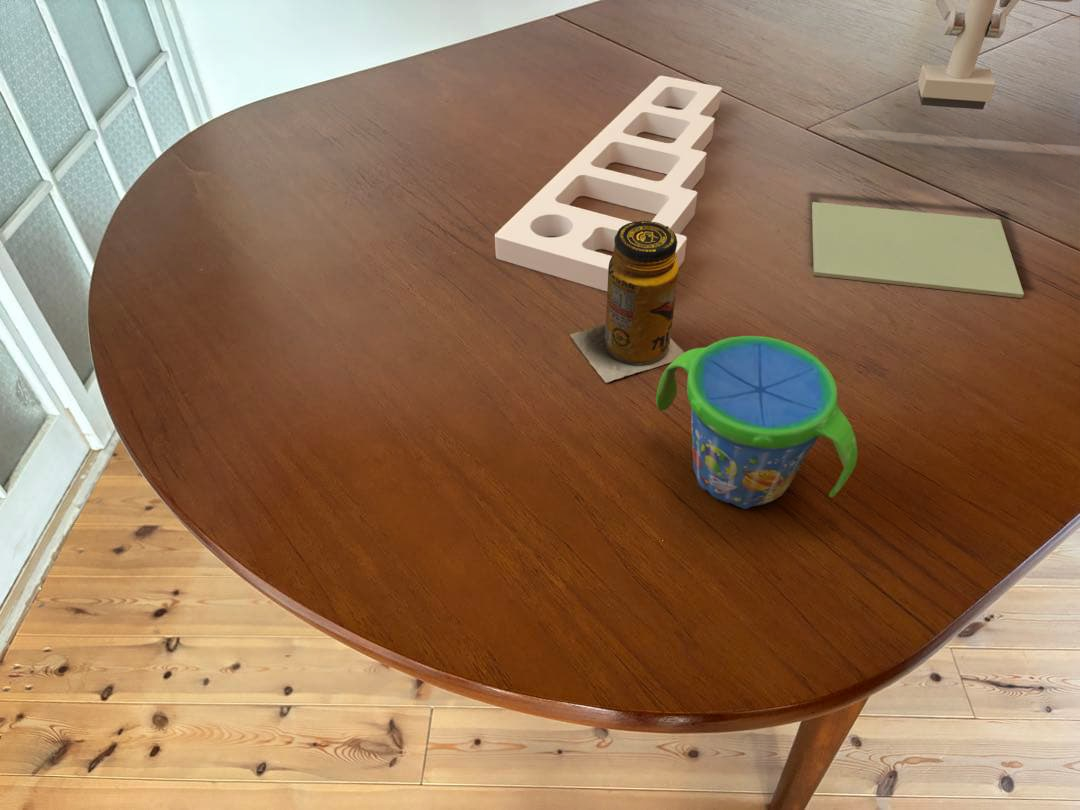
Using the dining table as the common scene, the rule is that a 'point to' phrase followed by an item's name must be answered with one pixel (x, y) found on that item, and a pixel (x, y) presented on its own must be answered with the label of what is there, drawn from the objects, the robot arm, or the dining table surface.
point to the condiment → (636, 304)
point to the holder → (617, 185)
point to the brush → (962, 66)
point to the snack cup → (757, 416)
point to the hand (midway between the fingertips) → (973, 34)
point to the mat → (913, 249)
